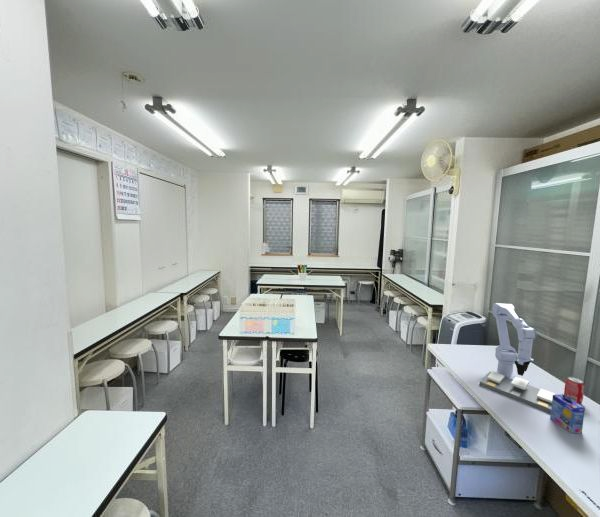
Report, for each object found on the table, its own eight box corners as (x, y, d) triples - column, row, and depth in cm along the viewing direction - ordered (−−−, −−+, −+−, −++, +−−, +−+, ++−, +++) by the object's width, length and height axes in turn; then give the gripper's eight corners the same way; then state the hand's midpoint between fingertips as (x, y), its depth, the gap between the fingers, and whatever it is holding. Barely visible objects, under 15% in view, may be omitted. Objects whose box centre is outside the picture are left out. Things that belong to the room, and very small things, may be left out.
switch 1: (492, 373, 164) (492, 371, 163) (504, 377, 159) (504, 375, 159) (487, 378, 157) (487, 376, 157) (499, 383, 153) (499, 381, 152)
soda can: (576, 398, 145) (579, 377, 143) (585, 406, 138) (588, 384, 137) (560, 395, 147) (563, 374, 146) (567, 403, 140) (571, 381, 139)
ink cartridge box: (548, 418, 129) (552, 389, 128) (559, 417, 130) (563, 389, 128) (571, 433, 120) (575, 403, 118) (582, 433, 120) (587, 402, 118)
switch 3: (540, 390, 147) (540, 388, 147) (555, 395, 142) (555, 393, 142) (536, 397, 140) (536, 395, 140) (552, 403, 136) (552, 401, 136)
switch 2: (515, 378, 155) (515, 376, 155) (528, 383, 150) (529, 381, 150) (510, 384, 149) (511, 382, 148) (524, 389, 144) (524, 387, 144)
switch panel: (489, 374, 167) (490, 370, 167) (560, 400, 143) (561, 396, 143) (479, 384, 156) (480, 380, 156) (555, 415, 132) (555, 410, 131)
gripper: (531, 355, 141) (528, 380, 142) (537, 348, 150) (534, 371, 152) (514, 350, 146) (511, 374, 148) (521, 343, 156) (518, 366, 157)
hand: (522, 372), depth 150 cm, fingers open, 7 cm apart
